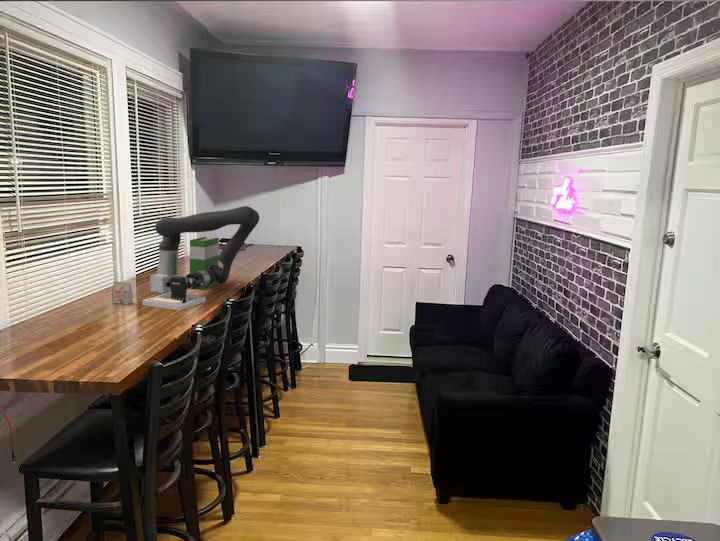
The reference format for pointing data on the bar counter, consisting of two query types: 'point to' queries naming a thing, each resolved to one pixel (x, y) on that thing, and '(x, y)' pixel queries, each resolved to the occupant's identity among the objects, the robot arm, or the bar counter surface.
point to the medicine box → (159, 283)
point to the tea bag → (122, 292)
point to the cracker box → (167, 301)
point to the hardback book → (203, 255)
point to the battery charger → (178, 288)
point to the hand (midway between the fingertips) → (175, 285)
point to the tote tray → (191, 301)
